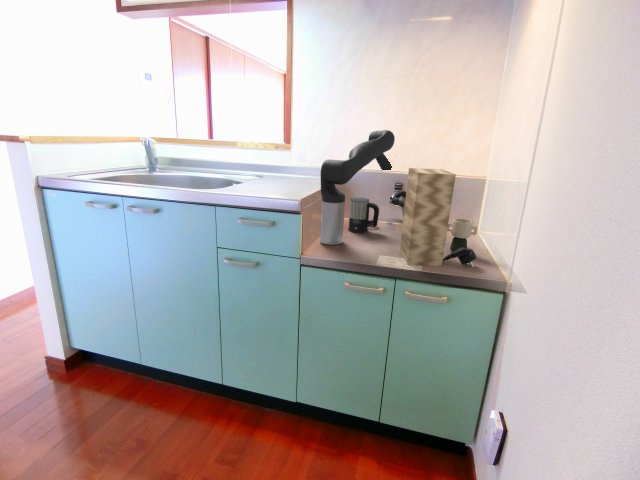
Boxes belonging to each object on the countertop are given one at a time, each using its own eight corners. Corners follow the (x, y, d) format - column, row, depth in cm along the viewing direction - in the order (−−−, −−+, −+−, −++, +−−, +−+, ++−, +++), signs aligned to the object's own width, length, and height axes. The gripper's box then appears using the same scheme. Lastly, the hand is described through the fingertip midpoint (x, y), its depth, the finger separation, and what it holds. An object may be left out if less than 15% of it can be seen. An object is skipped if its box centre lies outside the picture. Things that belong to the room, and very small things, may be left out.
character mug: (473, 251, 137) (478, 220, 133) (472, 257, 131) (478, 224, 127) (444, 247, 142) (449, 216, 138) (442, 252, 136) (447, 220, 132)
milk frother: (347, 232, 157) (349, 200, 153) (346, 223, 172) (348, 194, 168) (379, 234, 157) (382, 201, 152) (375, 224, 172) (378, 195, 167)
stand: (407, 264, 122) (418, 173, 112) (399, 250, 136) (408, 168, 126) (441, 266, 122) (455, 174, 112) (430, 251, 136) (442, 169, 126)
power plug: (437, 257, 128) (468, 242, 123) (447, 274, 129) (478, 260, 124) (438, 262, 123) (471, 247, 118) (448, 280, 124) (481, 265, 119)
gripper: (387, 189, 167) (392, 196, 151) (416, 190, 167) (425, 197, 151) (385, 204, 170) (391, 213, 153) (414, 205, 169) (423, 214, 153)
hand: (408, 205), depth 152 cm, fingers closed on rod, 4 cm apart
